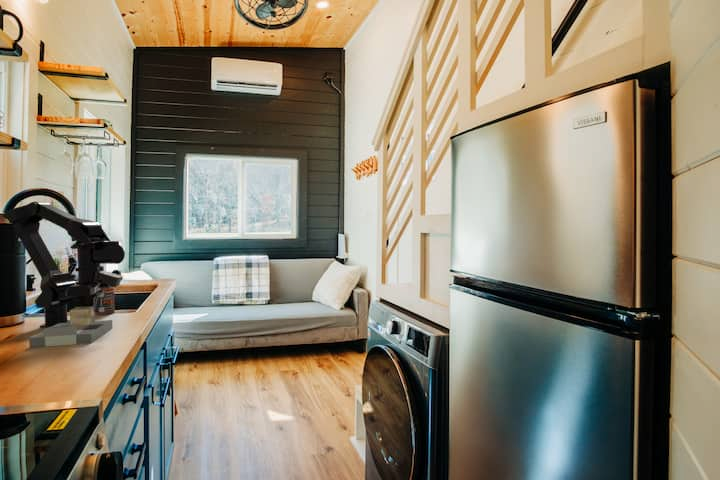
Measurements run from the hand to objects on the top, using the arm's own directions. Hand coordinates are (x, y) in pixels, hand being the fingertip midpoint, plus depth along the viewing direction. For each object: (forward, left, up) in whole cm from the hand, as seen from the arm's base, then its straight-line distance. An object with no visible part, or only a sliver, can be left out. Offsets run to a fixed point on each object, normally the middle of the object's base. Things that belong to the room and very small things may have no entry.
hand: (91, 314), depth 129 cm
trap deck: (+12, 0, -4) cm, 13 cm away
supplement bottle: (-20, -3, -4) cm, 20 cm away
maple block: (+7, 0, -1) cm, 7 cm away
